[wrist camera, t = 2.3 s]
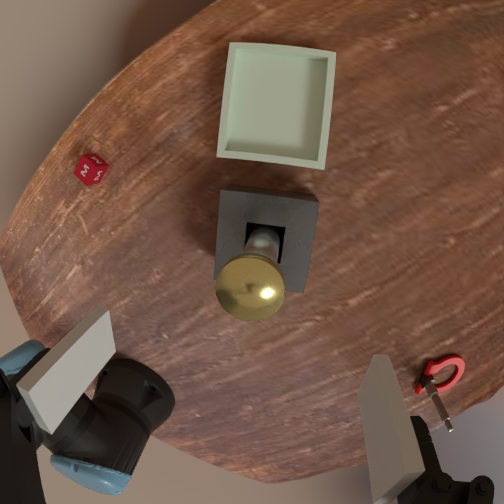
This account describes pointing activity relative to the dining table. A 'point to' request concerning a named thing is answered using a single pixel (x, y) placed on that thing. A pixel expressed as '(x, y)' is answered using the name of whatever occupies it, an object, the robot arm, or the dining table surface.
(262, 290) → the pin
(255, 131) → the tray
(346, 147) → the dining table surface
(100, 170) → the dice
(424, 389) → the tow hook
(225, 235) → the hitch block
